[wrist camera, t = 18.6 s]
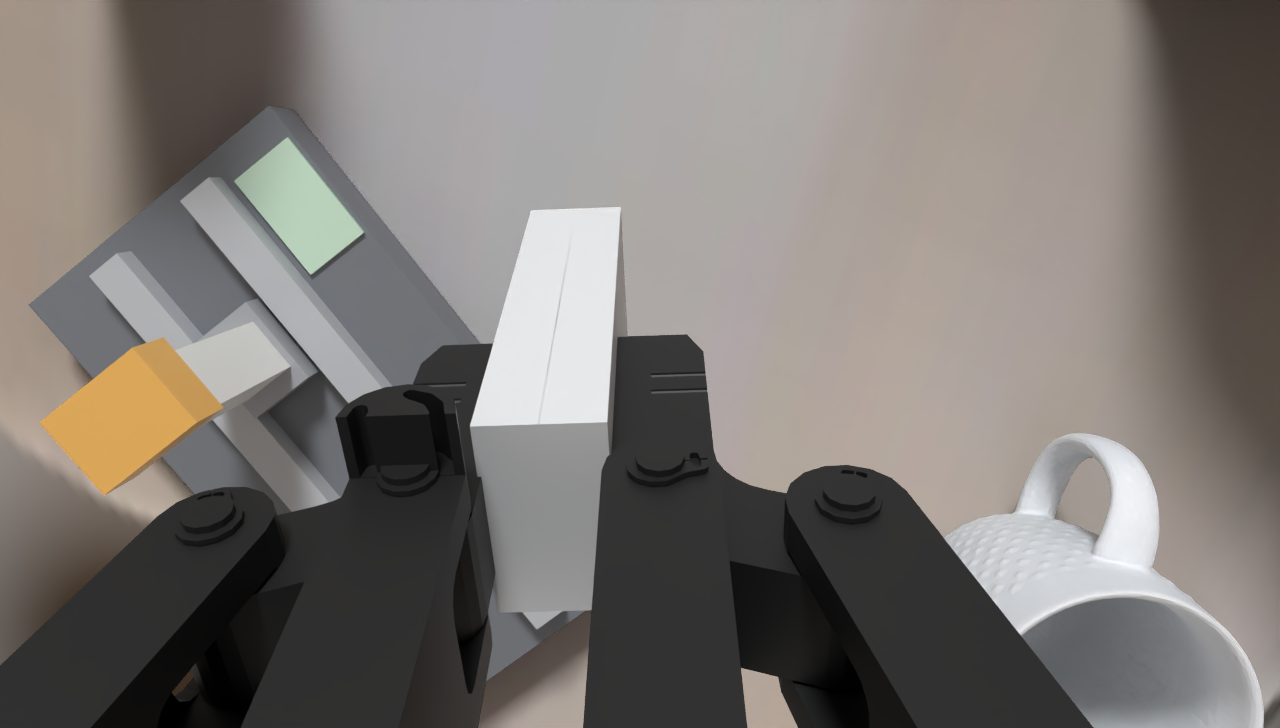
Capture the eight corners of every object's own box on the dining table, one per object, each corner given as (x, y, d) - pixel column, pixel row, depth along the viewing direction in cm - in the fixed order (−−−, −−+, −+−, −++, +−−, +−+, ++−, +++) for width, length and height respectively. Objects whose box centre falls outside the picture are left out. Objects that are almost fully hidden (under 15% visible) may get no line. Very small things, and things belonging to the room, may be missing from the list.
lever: (329, 363, 43) (207, 434, 31) (261, 416, 43) (114, 507, 31) (269, 290, 42) (121, 334, 30) (200, 345, 43) (28, 410, 31)
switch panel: (642, 546, 48) (641, 581, 44) (421, 703, 50) (401, 751, 45) (294, 110, 44) (257, 103, 40) (68, 296, 46) (11, 308, 42)
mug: (931, 379, 46) (1041, 457, 33) (1155, 427, 47) (1348, 522, 34) (853, 664, 49) (926, 837, 36) (1064, 707, 49) (1211, 893, 37)
